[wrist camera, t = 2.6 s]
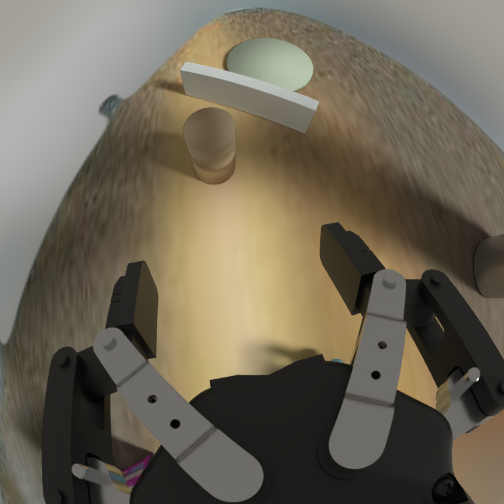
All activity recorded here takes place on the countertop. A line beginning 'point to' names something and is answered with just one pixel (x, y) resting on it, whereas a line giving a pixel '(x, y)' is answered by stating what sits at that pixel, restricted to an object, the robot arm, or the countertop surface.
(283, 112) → the frosted wall
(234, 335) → the countertop surface
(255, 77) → the sage mat
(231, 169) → the beech cylinder
